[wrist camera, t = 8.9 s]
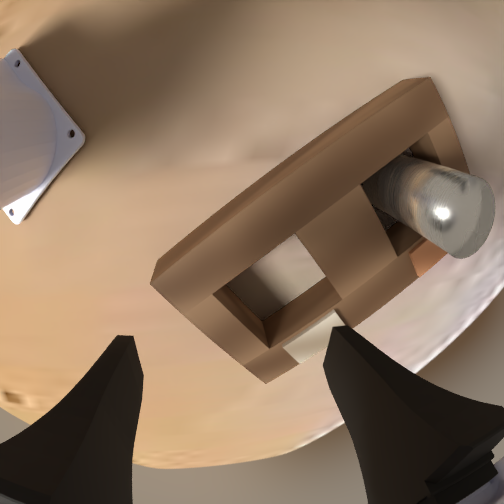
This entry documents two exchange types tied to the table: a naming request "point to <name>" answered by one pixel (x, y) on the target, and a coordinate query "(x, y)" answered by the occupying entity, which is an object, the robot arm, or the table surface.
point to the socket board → (314, 234)
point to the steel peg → (435, 202)
